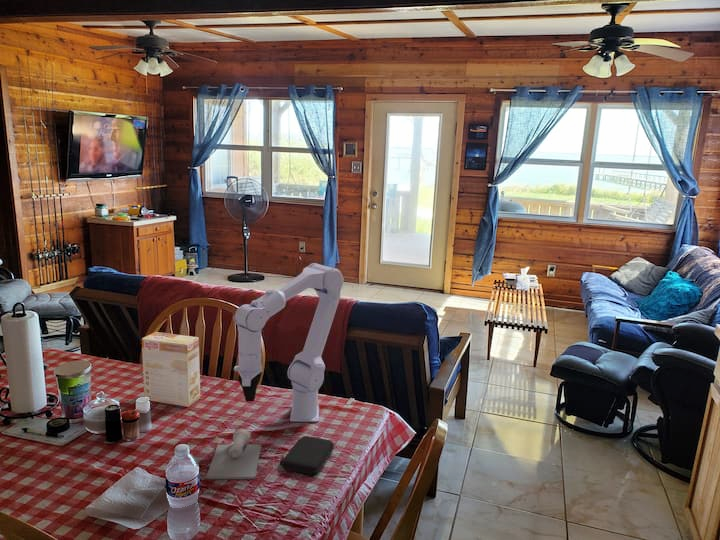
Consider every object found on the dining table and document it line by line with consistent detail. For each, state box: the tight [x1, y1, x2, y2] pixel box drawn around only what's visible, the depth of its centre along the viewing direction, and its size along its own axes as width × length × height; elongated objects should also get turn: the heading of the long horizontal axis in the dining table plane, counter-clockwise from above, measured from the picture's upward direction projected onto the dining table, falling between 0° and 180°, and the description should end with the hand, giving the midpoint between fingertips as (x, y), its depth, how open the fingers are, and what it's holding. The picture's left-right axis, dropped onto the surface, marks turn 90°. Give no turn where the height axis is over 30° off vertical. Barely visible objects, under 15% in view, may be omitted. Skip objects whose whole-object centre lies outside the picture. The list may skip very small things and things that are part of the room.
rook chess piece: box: [229, 428, 252, 459], centre depth 136 cm, size 4×4×8 cm
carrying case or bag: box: [279, 435, 335, 478], centre depth 135 cm, size 11×3×15 cm
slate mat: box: [205, 444, 262, 480], centre depth 132 cm, size 14×11×1 cm
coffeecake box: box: [141, 331, 201, 408], centre depth 162 cm, size 15×7×20 cm, turn 76°
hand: (250, 400), depth 142 cm, fingers closed
